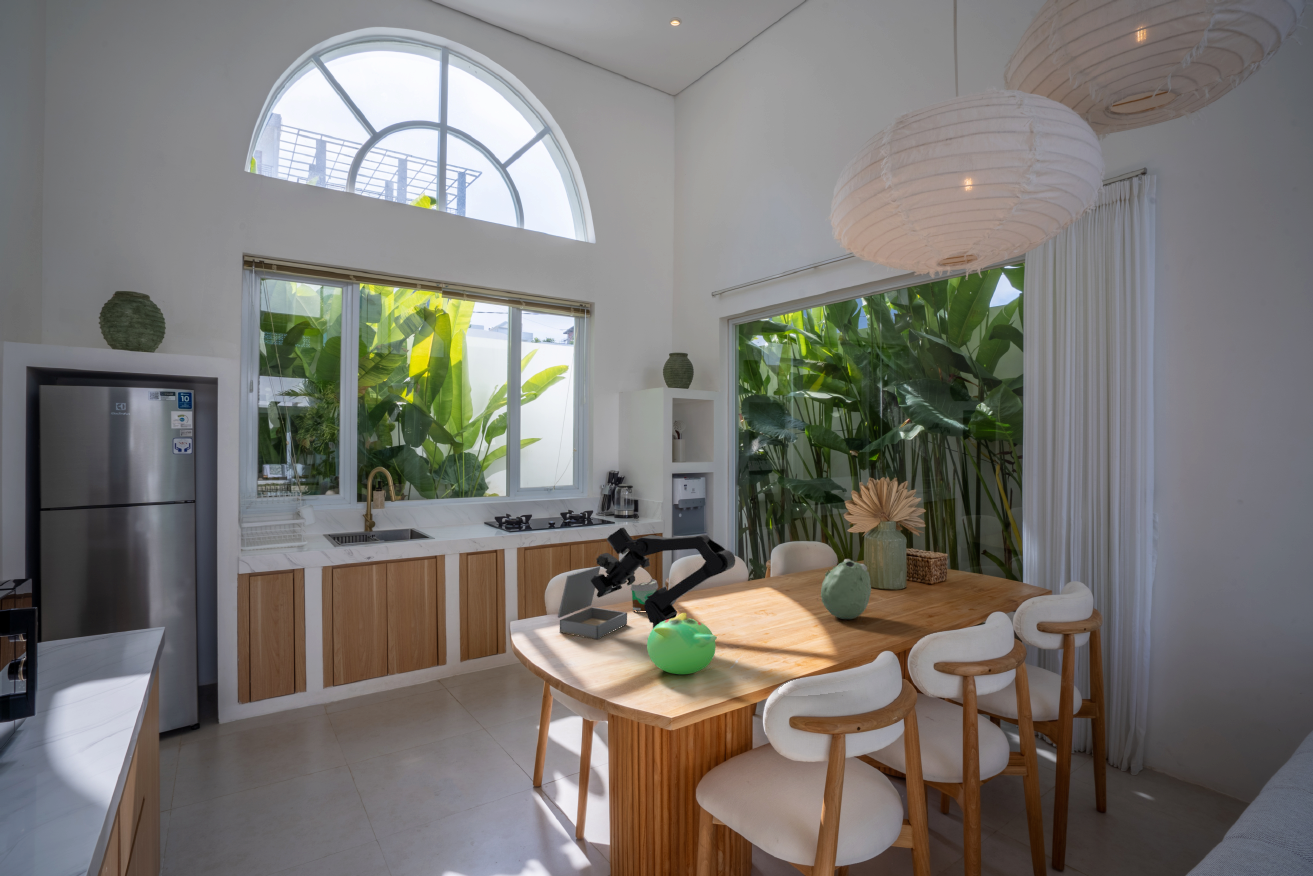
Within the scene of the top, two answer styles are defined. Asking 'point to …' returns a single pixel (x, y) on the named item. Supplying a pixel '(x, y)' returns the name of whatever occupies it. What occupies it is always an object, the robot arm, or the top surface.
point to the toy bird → (681, 645)
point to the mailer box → (593, 622)
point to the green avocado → (846, 589)
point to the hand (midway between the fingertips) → (598, 596)
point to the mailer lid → (578, 591)
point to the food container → (642, 593)
